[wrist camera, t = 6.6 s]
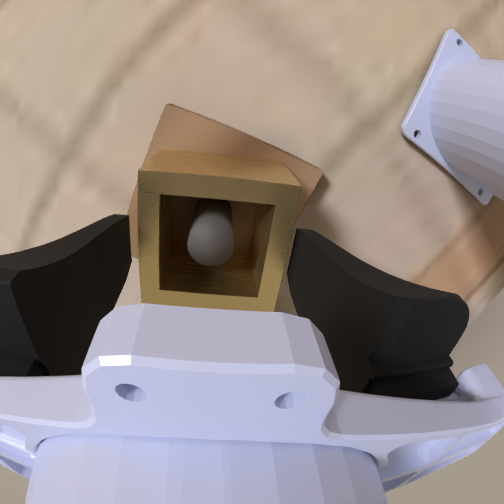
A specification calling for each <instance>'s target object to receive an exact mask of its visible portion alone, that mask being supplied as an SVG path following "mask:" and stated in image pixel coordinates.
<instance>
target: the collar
mask: <svg viewBox="0 0 504 504" xmlns="http://www.w3.org/2000/svg"><path fill="white" fill-rule="evenodd" d="M301 190H302V186H301V184H300V183H299V182H298V181H297V179H296V178H295V177H294V176H293V174H292V173H291V172H290V171H289V169H288V168H287V167H286V166H285V165H284V163H283V162H282V161H276V160H269V159H262V158H254V157H246V156H237V155H228V154H218V153H208V152H196V151H183V150H168V149H160V150H159V151H158V152H157V153H156V154H155V155H154V156H153V157H152V158H151V159H149V160H148V161H147V162H146V163H145V164H144V165H143V166H142V167H141V168H140V169H139V170H138V202H137V211H138V254H139V274H140V289H141V301H142V303H148V304H158V305H169V306H181V307H194V308H208V309H224V310H242V311H263V312H274V309H275V304H276V300H277V296H278V292H279V288H280V284H281V280H282V275H283V271H284V267H285V262H286V258H287V254H288V249H289V245H290V241H291V236H292V232H293V227H294V223H295V218H296V214H297V209H298V204H299V200H300V195H301ZM175 195H177V196H190V197H201V198H212V199H223V200H233V201H242V202H252V203H258V204H257V210H256V216H255V222H254V229H253V235H252V241H251V247H250V250H243V249H234V251H233V253H232V255H231V257H230V258H229V259H228V260H227V261H226V262H224V263H222V264H220V265H216V266H206V265H202V264H200V263H198V262H197V261H195V260H194V259H193V258H192V257H191V255H190V254H189V251H188V247H187V245H185V244H174V243H173V219H174V198H175Z"/></svg>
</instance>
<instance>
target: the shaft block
mask: <svg viewBox="0 0 504 504" xmlns="http://www.w3.org/2000/svg"><path fill="white" fill-rule="evenodd" d="M160 149H168V150H183V151H196V152H208V153H218V154H228V155H237V156H246V157H254V158H262V159H269V160H276V161H282V162H283V163H284V165H285V166H286V167H287V168H288V169H289V171H290V172H291V173H292V174H293V176H294V177H295V178H296V179H297V181H298V182H299V183H300V184H301V186H302V190H301V195H300V200H299V204H298V209H297V214H296V218H295V223H296V221H297V219H298V217H299V215H300V214H301V212H302V210H303V208H304V206H305V205H306V203H307V201H308V199H309V197H310V196H311V194H312V192H313V190H314V188H315V187H316V185H317V183H318V181H319V179H320V177H321V176H322V174H323V172H322V171H321V170H320V169H319V168H318V167H316V166H314V165H312V164H310V163H308V162H306V161H304V160H302V159H300V158H298V157H296V156H294V155H292V154H290V153H288V152H286V151H283V150H281V149H279V148H277V147H275V146H273V145H271V144H268V143H266V142H264V141H262V140H260V139H257V138H255V137H253V136H251V135H248V134H246V133H244V132H241V131H239V130H237V129H234V128H232V127H230V126H227V125H225V124H222V123H220V122H217V121H215V120H212V119H210V118H207V117H205V116H202V115H200V114H197V113H194V112H192V111H189V110H186V109H184V108H181V107H178V106H176V105H173V104H166V106H165V108H164V110H163V113H162V115H161V118H160V120H159V123H158V125H157V128H156V130H155V133H154V135H153V138H152V141H151V143H150V146H149V149H148V152H147V154H146V157H145V160H144V163H143V165H144V164H145V163H146V162H147V161H148V160H149V159H151V158H152V157H153V156H154V155H155V154H156V153H157V152H158V151H159V150H160ZM137 202H138V181H137V184H136V187H135V190H134V193H133V196H132V200H131V203H130V206H129V210H128V213H127V215H129V220H130V242H131V256H132V257H135V258H137V259H139V254H138V211H137ZM257 204H258V203H252V202H242V201H233V200H223V199H212V198H201V197H190V196H177V195H175V198H174V219H173V243H174V244H185V245H187V247H188V251H189V254H190V255H191V257H192V258H193V259H194V260H195V261H197V262H198V263H200V264H202V265H206V266H216V265H220V264H222V263H224V262H226V261H227V260H228V259H229V258H230V257H231V255H232V253H233V251H234V249H243V250H250V247H251V241H252V235H253V229H254V222H255V216H256V210H257ZM295 223H294V224H295Z"/></svg>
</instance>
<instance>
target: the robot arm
mask: <svg viewBox="0 0 504 504" xmlns="http://www.w3.org/2000/svg"><path fill="white" fill-rule="evenodd" d="M457 41H458V43H459V45H458V44H457ZM416 130H417V136H416V137H414V132H415V131H416ZM401 132H402V134H403V135H404V136H405V137H406V138H408V139H409V140H410V141H411V142H413V143H414V144H415V145H417V146H418V147H419V148H420V149H422V150H423V151H424V152H425V153H427V154H428V155H429V156H430V157H431V158H433V159H434V160H435V161H436V162H437V163H438V164H440V165H441V166H442V167H443V168H444V169H445V170H447V171H448V172H449V173H450V174H451V175H452V176H453V177H454V178H455V179H457V180H458V181H459V182H460V183H461V184H462V185H463V186H464V187H465V188H466V189H467V190H468V191H469V192H470V193H471V194H472V195H473V196H474V197H475V198H476V199H477V200H478V201H479V202H480V203H482V204H484V205H487V204H488V203H489V202H490V200H491V198H492V196H493V195H494V196H496V197H497V198H499V199H501V200H502V201H504V61H502V60H488V59H481V58H480V57H479V56H478V54H477V53H476V52H475V51H474V50H473V49H472V48H471V47H470V46H469V45H468V43H467V42H466V41H465V40H464V39H463V38H462V37H461V36H460V35H459V34H458V33H457V32H456V31H454V30H452V29H451V30H446V32H445V34H444V36H443V38H442V41H441V43H440V45H439V47H438V50H437V52H436V54H435V56H434V59H433V61H432V63H431V65H430V67H429V69H428V72H427V74H426V76H425V78H424V80H423V82H422V84H421V86H420V88H419V91H418V93H417V95H416V97H415V99H414V101H413V103H412V105H411V107H410V109H409V111H408V113H407V115H406V117H405V119H404V121H403V122H402V125H401ZM478 191H479V192H478ZM131 262H132V258H131V242H130V220H129V215H118V214H114V215H111V216H108V217H106V218H103V219H101V220H99V221H97V222H95V223H93V224H91V225H89V226H87V227H85V228H83V229H80V230H78V231H76V232H74V233H72V234H69V235H67V236H65V237H63V238H60V239H58V240H55V241H53V242H50V243H47V244H44V245H41V246H38V247H34V248H31V249H27V250H24V251H20V252H15V253H11V254H5V255H0V465H2V466H4V467H6V468H7V469H9V470H11V471H13V472H15V473H17V474H19V475H21V476H23V477H25V478H28V479H29V480H30V482H29V487H28V491H27V496H26V501H25V504H388V502H387V499H386V495H385V492H388V491H391V490H393V489H396V488H398V487H401V486H403V485H406V484H408V483H411V482H413V481H415V480H417V479H420V478H422V477H424V476H426V475H429V474H431V473H433V472H435V471H437V470H439V469H441V468H443V467H445V466H448V465H450V464H452V463H454V462H456V461H458V460H459V459H461V458H464V457H465V456H467V455H469V454H471V453H473V452H475V451H476V450H477V449H478V448H479V447H481V446H482V445H483V444H484V443H485V442H487V441H488V440H489V439H490V438H491V437H492V436H493V435H494V434H496V433H497V432H498V431H499V430H500V429H501V428H502V427H503V426H504V390H503V388H502V386H501V385H500V383H499V382H498V380H497V379H496V377H495V376H494V374H493V373H492V371H491V370H490V368H489V367H488V365H487V364H480V365H477V366H473V367H469V368H467V369H465V370H464V371H463V372H461V373H460V374H459V376H458V377H457V378H455V376H454V375H453V373H452V371H451V370H450V368H449V367H451V366H452V365H453V360H452V359H451V357H450V356H449V354H450V353H451V351H452V350H453V348H454V347H455V345H456V344H457V342H458V341H459V339H460V338H461V336H462V334H463V332H464V331H465V329H466V327H467V323H468V320H469V308H468V306H467V304H466V303H465V302H464V301H463V300H462V298H461V297H460V296H459V295H457V294H454V293H449V292H445V291H440V290H435V289H431V288H427V287H424V286H421V285H417V284H414V283H411V282H408V281H405V280H402V279H400V278H397V277H395V276H392V275H390V274H388V273H385V272H383V271H381V270H379V269H377V268H375V267H373V266H371V265H369V264H367V263H365V262H363V261H362V260H360V259H358V258H357V257H355V256H353V255H351V254H350V253H348V252H347V251H345V250H344V249H342V248H341V247H339V246H337V245H336V244H334V243H333V242H331V241H330V240H328V239H327V238H325V237H324V236H322V235H320V234H319V233H317V232H315V231H313V230H306V229H296V234H295V239H294V243H293V248H292V252H291V257H290V261H289V266H288V270H287V276H288V283H289V288H290V293H291V296H292V299H293V302H294V305H295V309H296V311H297V314H298V316H295V315H291V314H287V313H283V312H263V311H242V310H224V309H208V308H194V307H181V306H169V305H158V304H148V303H143V304H135V305H126V306H117V307H116V308H115V309H114V307H115V304H116V302H117V300H118V298H119V295H120V293H121V291H122V289H123V286H124V284H125V282H126V279H127V276H128V272H129V269H130V265H131Z"/></svg>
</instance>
